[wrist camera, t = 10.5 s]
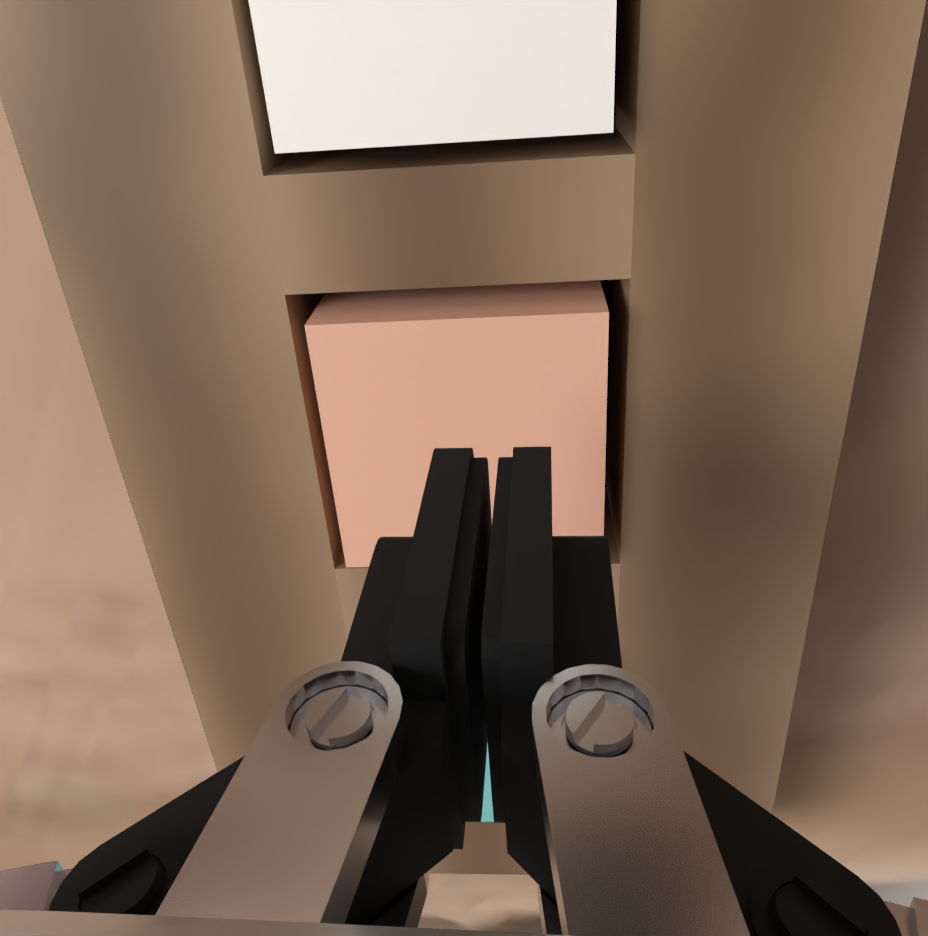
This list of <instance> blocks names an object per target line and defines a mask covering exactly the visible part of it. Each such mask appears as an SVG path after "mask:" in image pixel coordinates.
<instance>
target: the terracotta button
mask: <svg viewBox="0 0 928 936" xmlns="http://www.w3.org/2000/svg"><path fill="white" fill-rule="evenodd" d="M304 326H305V332H306V338H307V343H308V349H309V355H310V361H311V367H312V372H313V378H314V384H315V390H316V396H317V401H318V407H319V413H320V419H321V425H322V430H323V436H324V442H325V448H326V454H327V459H328V465H329V471H330V477H331V482H332V488H333V494H334V500H335V506H336V511H337V517H338V523H339V529H340V535H341V540H342V546H343V552H344V558H345V564H346V567H369V565H370V562H371V559H372V555H373V552H374V549H375V545H376V543H377V541H378V539H379V538H380V537H413V535H414V530H415V526H416V522H417V518H418V514H419V509H420V505H421V501H422V497H423V492H424V488H425V484H426V480H427V476H428V471H429V467H430V463H431V459H432V454H433V451H434V449H435V448H472V449H473V453H474V458H477V457H487V459H488V469H489V486H490V502H491V519H492V518H493V508H494V498H495V488H496V477H497V467H498V458H499V457H513V447H548V446H551V467H552V536H604V502H605V461H606V420H607V378H608V337H609V310H608V307H607V303H606V300H605V296H604V293H603V289H602V286H601V282H600V280H591V281H570V282H549V283H527V284H506V285H485V286H463V287H442V288H420V289H399V290H378V291H356V292H335V293H325V295H324V296H323V298H322V299H321V301H320V302H319V304H318V305H317V307H316V308H315V310H314V311H313V313H312V314H311V316H310V318H309V319H308V321H307V322H306V324H305V325H304Z"/></svg>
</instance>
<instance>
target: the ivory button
mask: <svg viewBox="0 0 928 936" xmlns="http://www.w3.org/2000/svg"><path fill="white" fill-rule="evenodd" d="M248 1H249V7H250V13H251V19H252V25H253V30H254V36H255V42H256V48H257V53H258V59H259V65H260V71H261V77H262V82H263V88H264V94H265V100H266V106H267V111H268V117H269V123H270V129H271V135H272V140H273V146H274V152H275V154H277V153H293V152H309V151H325V150H341V149H357V148H374V147H390V146H406V145H422V144H438V143H454V142H471V141H487V140H503V139H519V138H535V137H551V136H567V135H584V134H600V133H613V130H614V88H615V47H616V6H617V0H248Z"/></svg>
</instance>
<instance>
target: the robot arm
mask: <svg viewBox="0 0 928 936" xmlns="http://www.w3.org/2000/svg"><path fill="white" fill-rule="evenodd" d="M487 742H488V753H489V766H490V779H491V792H492V805H493V818H494V823H505V825H506V840H507V853H508V854H509V855H510V856H511V857H512V858H513V859H514V860H515V861H516V862H517V863H518V864H519V865H520V866H521V867H522V868H523V869H524V870H525V871H526V872H527V873H528V874H529V875H530V876H531V877H532V878H533V879H534V880H535V881H536V882H537V883H538V901H539V908H540V915H541V922H542V929H543V934H530V933H510V932H490V931H471V930H451V929H431V928H417V927H418V924H419V920H420V917H421V913H422V910H423V906H424V903H425V899H426V896H427V891H428V882H429V872H428V871H429V870H430V869H431V868H433V867H434V866H435V865H436V864H438V863H439V862H440V861H441V860H443V859H444V858H445V857H446V856H447V855H449V854H450V853H451V852H452V851H453V849H463V845H464V834H465V824H466V822H481V818H482V808H483V794H484V781H485V768H486V755H487ZM0 936H928V901H927V900H922V899H919V898H915V897H913V900H912V902H911V905H910V907H906V906H902V905H898V904H894V903H890V902H886V901H883V900H882V899H881V897H880V896H879V895H878V894H877V893H876V892H874V890H872V889H871V888H870V887H869V886H868V885H867V884H866V883H865V882H864V881H862V880H861V879H860V878H859V877H858V876H857V875H855V874H854V873H853V872H851V871H850V870H848V869H847V868H846V867H844V866H843V865H842V864H840V863H839V862H837V861H836V860H835V859H833V858H832V857H830V856H829V855H828V854H826V853H825V852H823V851H822V850H821V849H819V848H818V847H817V846H815V845H814V844H812V843H811V842H810V841H808V840H807V839H805V838H804V837H803V836H801V835H800V834H799V833H797V832H796V831H794V830H793V829H792V828H790V827H789V826H787V825H786V824H785V823H783V822H782V821H780V820H779V819H778V818H776V817H775V816H774V815H772V814H771V813H769V812H768V811H767V810H765V809H764V808H762V807H761V806H760V805H758V804H757V803H756V802H754V801H753V800H751V799H750V798H749V797H747V796H746V795H744V794H743V793H742V792H740V791H739V790H737V789H736V788H735V787H733V786H732V785H731V784H729V783H728V782H726V781H725V780H724V779H722V778H721V777H719V776H718V775H717V774H715V773H714V772H713V771H711V770H710V769H708V768H707V767H706V766H704V765H703V764H701V763H700V762H699V761H697V760H696V759H695V758H693V757H692V756H690V755H689V754H688V753H686V752H685V751H683V749H682V746H681V743H680V741H679V738H678V735H677V732H676V729H675V727H674V724H673V721H672V718H671V716H670V713H669V710H668V707H667V706H666V704H665V702H664V700H663V699H662V697H661V695H660V693H659V692H658V691H657V690H656V689H655V688H654V687H653V686H652V685H651V684H650V683H648V682H647V681H646V680H645V679H644V678H642V677H640V676H638V675H636V674H634V673H632V672H630V671H628V670H626V669H622V661H621V652H620V643H619V634H618V624H617V615H616V606H615V597H614V588H613V579H612V569H611V560H610V551H609V543H608V537H607V536H552V467H551V446H548V447H513V457H499V458H498V467H497V477H496V488H495V498H494V508H493V518H492V519H491V502H490V486H489V469H488V459H487V457H477V458H474V453H473V449H472V448H435V449H434V451H433V454H432V459H431V463H430V467H429V471H428V476H427V480H426V484H425V488H424V492H423V497H422V501H421V505H420V509H419V514H418V518H417V522H416V526H415V530H414V535H413V537H380V538H379V539H378V541H377V543H376V545H375V549H374V552H373V555H372V559H371V562H370V565H369V569H368V572H367V575H366V579H365V582H364V585H363V589H362V592H361V595H360V599H359V602H358V605H357V609H356V612H355V616H354V619H353V622H352V626H351V629H350V632H349V636H348V639H347V642H346V646H345V649H344V652H343V656H342V659H341V661H339V662H334V663H330V664H325V665H321V666H319V667H316V668H314V669H312V670H310V671H308V672H305V673H303V674H302V675H301V676H299V677H298V678H297V679H295V680H294V681H293V682H291V683H290V684H289V685H288V686H287V687H286V688H285V690H284V691H283V692H282V693H281V695H280V696H279V697H278V699H277V700H276V702H275V704H274V705H273V707H272V709H271V711H270V712H269V714H268V716H267V718H266V719H265V721H264V723H263V725H262V727H261V728H260V730H259V732H258V734H257V735H256V737H255V739H254V741H253V742H252V744H251V746H250V748H249V750H248V751H247V753H246V755H245V756H243V757H242V758H240V759H238V760H237V761H235V762H234V763H232V764H230V765H229V766H227V767H226V768H224V769H222V770H221V771H219V772H218V773H216V774H214V775H213V776H211V777H209V778H208V779H206V780H205V781H203V782H201V783H200V784H198V785H197V786H195V787H193V788H192V789H190V790H189V791H187V792H185V793H184V794H182V795H180V796H179V797H177V798H176V799H174V800H172V801H171V802H169V803H168V804H166V805H164V806H163V807H161V808H160V809H158V810H156V811H155V812H153V813H151V814H150V815H148V816H147V817H145V818H143V819H142V820H140V821H139V822H137V823H135V824H134V825H132V826H131V827H129V828H127V829H126V830H124V831H123V832H121V833H119V834H118V835H116V836H114V837H113V838H111V839H110V840H108V841H106V842H105V843H103V844H102V845H100V846H99V847H97V848H96V849H95V850H94V851H92V852H91V853H90V854H88V855H87V856H86V857H84V858H83V859H82V860H81V861H79V862H78V864H77V865H76V866H75V867H74V868H72V869H66V870H63V869H62V867H61V865H60V864H59V862H58V861H52V862H47V863H41V864H35V865H30V866H24V867H19V868H13V869H8V870H2V871H0Z"/></svg>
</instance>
